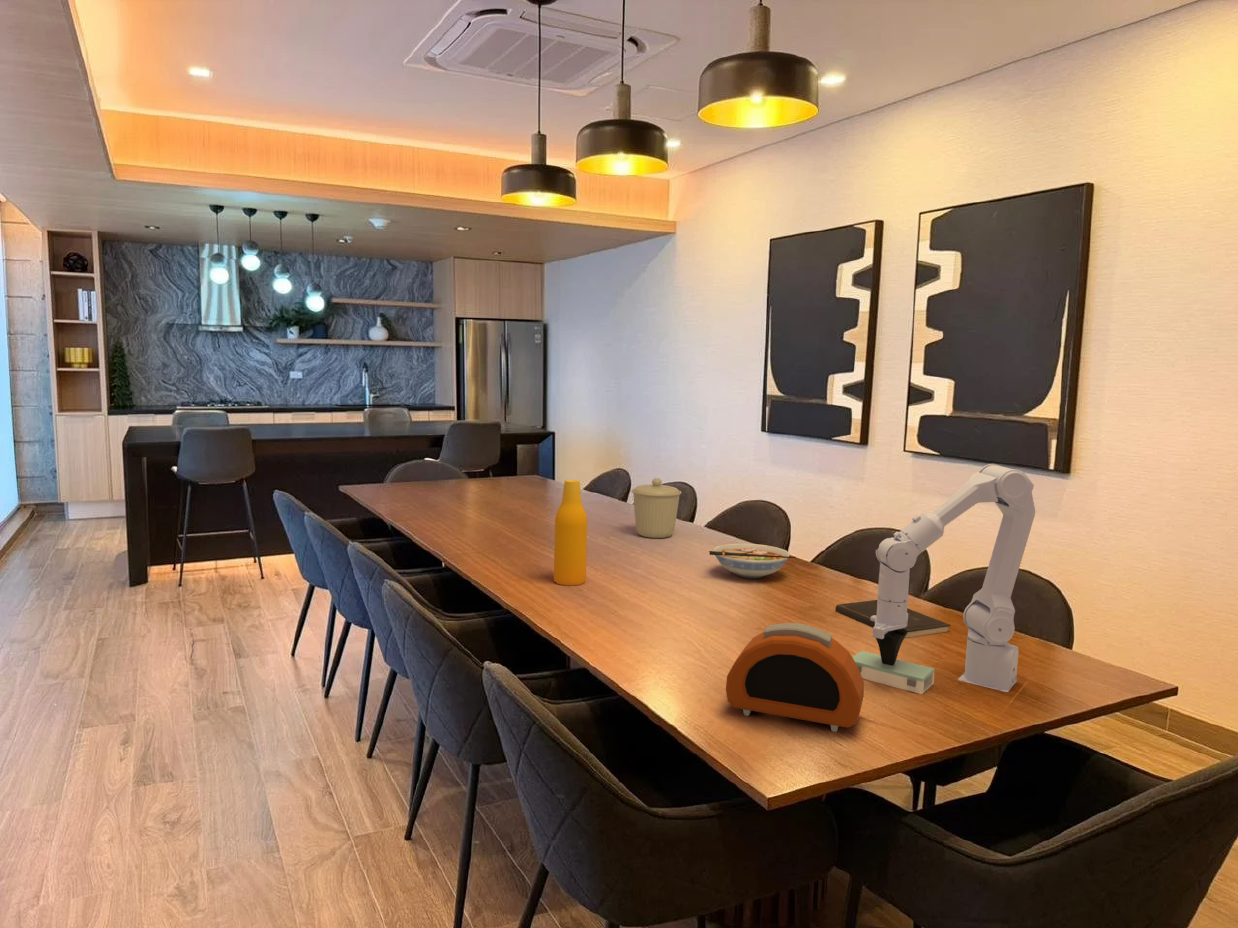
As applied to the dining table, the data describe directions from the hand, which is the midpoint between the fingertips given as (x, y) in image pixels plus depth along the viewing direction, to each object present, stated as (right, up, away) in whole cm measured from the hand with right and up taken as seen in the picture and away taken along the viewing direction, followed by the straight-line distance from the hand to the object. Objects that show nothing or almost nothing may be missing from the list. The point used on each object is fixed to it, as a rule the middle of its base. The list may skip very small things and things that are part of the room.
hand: (888, 664), depth 167 cm
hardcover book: (+14, 0, +41) cm, 43 cm away
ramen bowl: (-15, +7, +81) cm, 83 cm away
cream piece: (0, -4, 0) cm, 4 cm away
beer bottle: (-68, +7, +68) cm, 97 cm away
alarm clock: (-23, -5, -17) cm, 29 cm away
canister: (-41, +14, +135) cm, 141 cm away
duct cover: (0, 0, 0) cm, 1 cm away
